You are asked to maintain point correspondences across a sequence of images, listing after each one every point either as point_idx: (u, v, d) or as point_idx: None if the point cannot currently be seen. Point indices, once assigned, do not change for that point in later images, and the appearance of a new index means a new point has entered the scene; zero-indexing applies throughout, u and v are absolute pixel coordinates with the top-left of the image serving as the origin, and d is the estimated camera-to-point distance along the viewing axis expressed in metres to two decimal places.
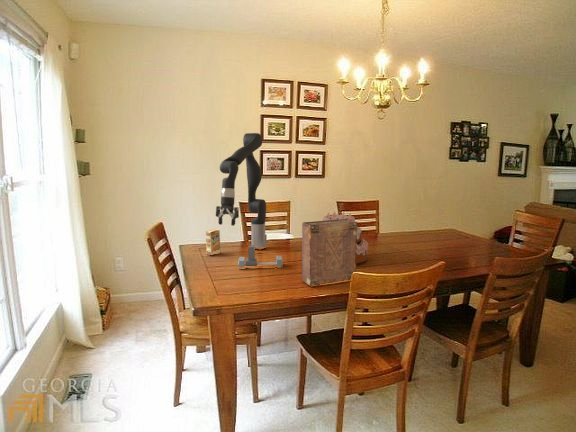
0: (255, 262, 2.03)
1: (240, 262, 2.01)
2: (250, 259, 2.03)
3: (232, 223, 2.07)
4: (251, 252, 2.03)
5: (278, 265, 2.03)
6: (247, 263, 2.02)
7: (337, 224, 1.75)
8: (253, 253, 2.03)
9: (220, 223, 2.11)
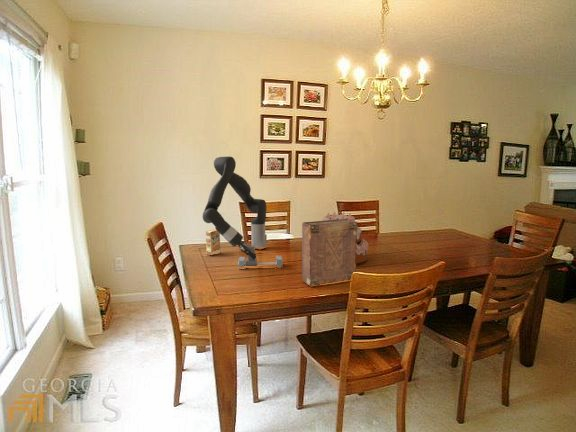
0: (255, 262, 2.03)
1: (240, 262, 2.01)
2: (250, 259, 2.03)
3: None
4: None
5: (278, 265, 2.03)
6: (247, 263, 2.02)
7: (337, 224, 1.75)
8: (253, 253, 2.03)
9: None
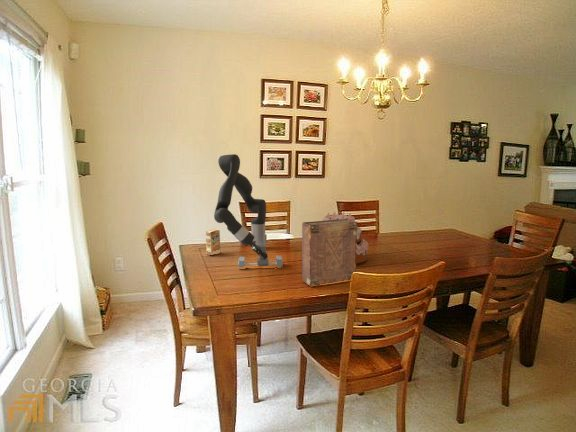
0: (266, 262, 2.03)
1: (240, 262, 2.01)
2: (261, 259, 2.04)
3: (263, 257, 2.03)
4: None
5: (278, 265, 2.03)
6: (258, 263, 2.03)
7: (337, 224, 1.75)
8: None
9: None
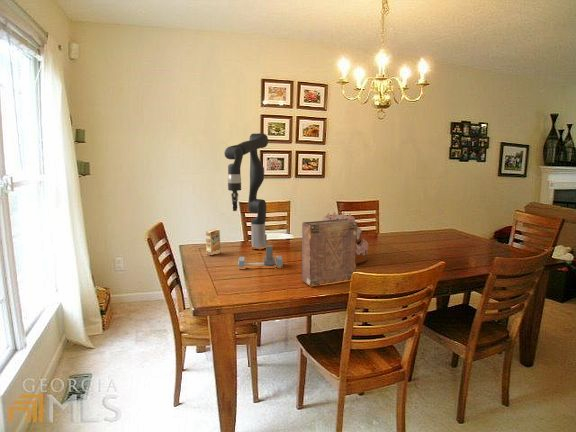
0: (273, 261, 2.04)
1: (240, 262, 2.01)
2: (268, 258, 2.04)
3: (233, 208, 2.11)
4: (269, 252, 2.04)
5: (278, 265, 2.03)
6: (265, 262, 2.03)
7: (337, 224, 1.75)
8: (271, 253, 2.04)
9: None
